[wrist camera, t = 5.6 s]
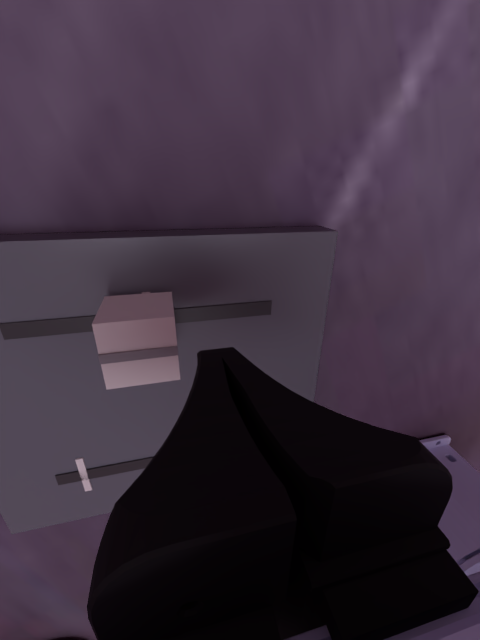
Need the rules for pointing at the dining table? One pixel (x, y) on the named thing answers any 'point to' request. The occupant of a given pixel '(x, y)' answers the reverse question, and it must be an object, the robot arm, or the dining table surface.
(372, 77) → the dining table surface
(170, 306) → the block
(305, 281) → the mixer board
